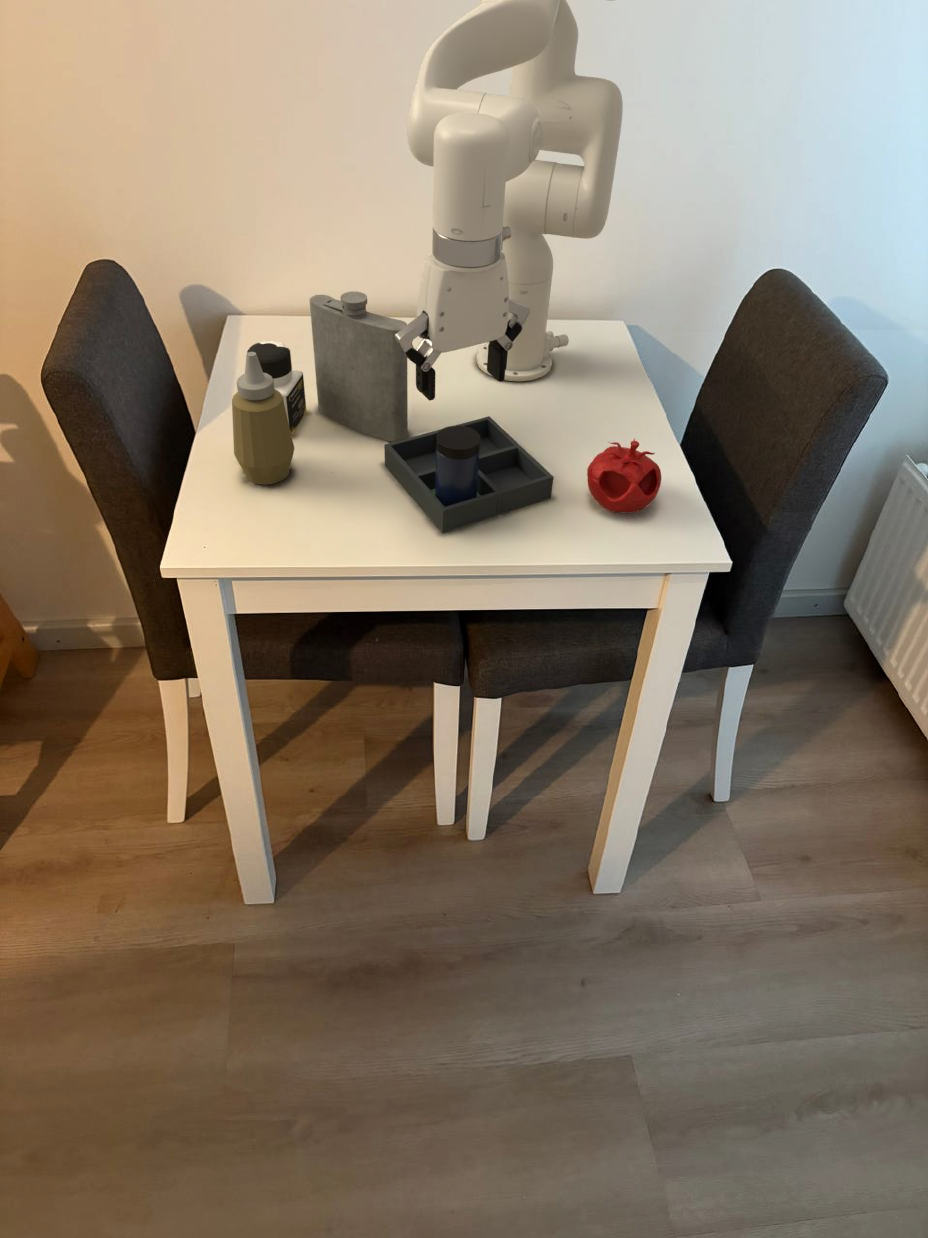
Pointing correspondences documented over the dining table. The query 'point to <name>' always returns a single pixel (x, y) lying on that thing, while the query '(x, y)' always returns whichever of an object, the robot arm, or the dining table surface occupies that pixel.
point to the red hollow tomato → (623, 478)
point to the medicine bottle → (283, 378)
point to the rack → (501, 476)
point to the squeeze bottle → (260, 426)
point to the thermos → (456, 464)
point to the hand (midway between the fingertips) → (461, 385)
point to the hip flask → (359, 366)
